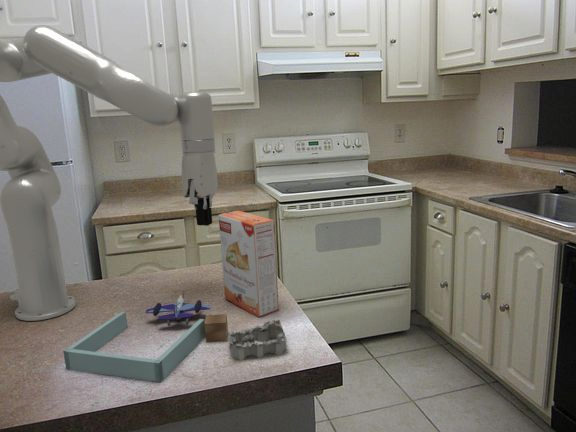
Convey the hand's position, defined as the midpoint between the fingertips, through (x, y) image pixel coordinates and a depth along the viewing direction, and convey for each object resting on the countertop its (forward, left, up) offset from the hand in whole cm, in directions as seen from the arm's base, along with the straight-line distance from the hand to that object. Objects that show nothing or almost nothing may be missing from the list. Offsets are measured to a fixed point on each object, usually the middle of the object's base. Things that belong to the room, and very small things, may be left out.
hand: (204, 224), depth 115 cm
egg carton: (+21, -25, -18) cm, 37 cm away
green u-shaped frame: (0, -30, -17) cm, 35 cm away
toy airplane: (0, -15, -17) cm, 23 cm away
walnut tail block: (+12, -22, -17) cm, 30 cm away
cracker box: (+13, -6, -17) cm, 22 cm away
